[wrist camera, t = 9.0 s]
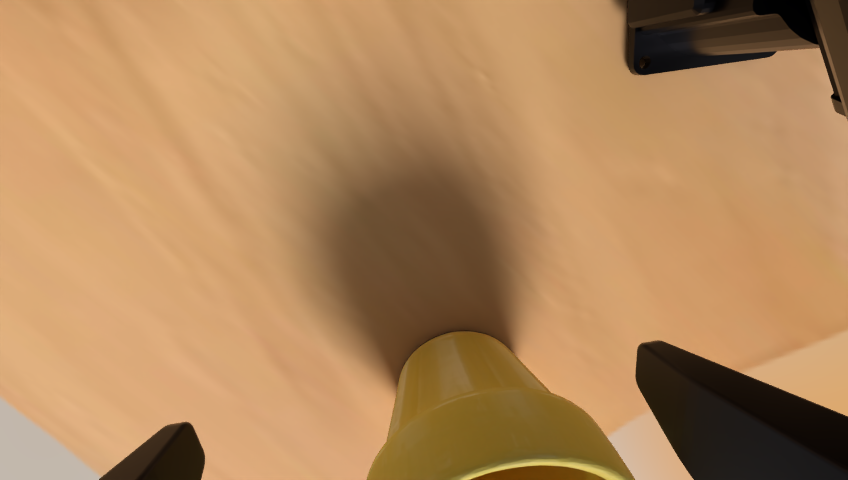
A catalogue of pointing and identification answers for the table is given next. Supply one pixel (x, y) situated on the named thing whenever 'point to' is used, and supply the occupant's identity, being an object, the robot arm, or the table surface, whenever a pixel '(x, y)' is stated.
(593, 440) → the plant pot
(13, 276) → the table surface
